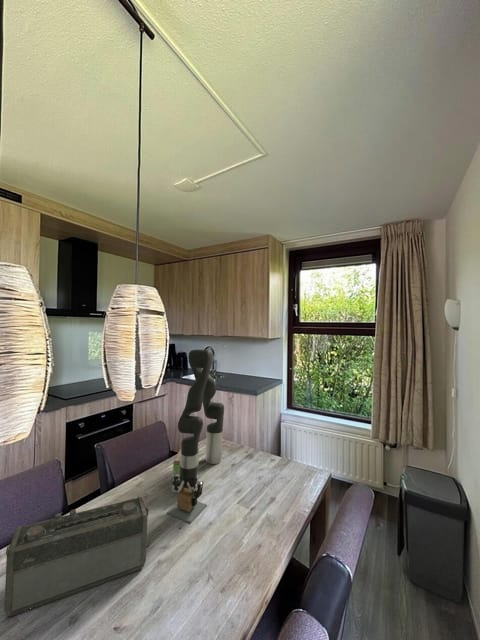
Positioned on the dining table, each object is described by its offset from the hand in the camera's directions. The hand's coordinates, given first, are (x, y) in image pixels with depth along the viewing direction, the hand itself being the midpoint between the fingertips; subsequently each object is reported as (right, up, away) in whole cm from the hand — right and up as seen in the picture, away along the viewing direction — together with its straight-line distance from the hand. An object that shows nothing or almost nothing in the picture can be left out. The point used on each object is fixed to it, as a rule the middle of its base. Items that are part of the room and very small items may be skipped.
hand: (187, 503), depth 119 cm
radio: (-27, -2, -31) cm, 41 cm away
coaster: (0, -3, 0) cm, 3 cm away
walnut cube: (0, -1, 0) cm, 1 cm away
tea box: (-5, -3, +19) cm, 20 cm away
